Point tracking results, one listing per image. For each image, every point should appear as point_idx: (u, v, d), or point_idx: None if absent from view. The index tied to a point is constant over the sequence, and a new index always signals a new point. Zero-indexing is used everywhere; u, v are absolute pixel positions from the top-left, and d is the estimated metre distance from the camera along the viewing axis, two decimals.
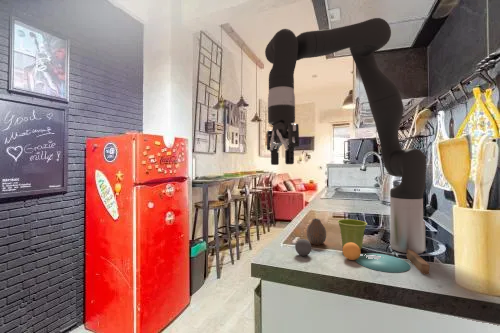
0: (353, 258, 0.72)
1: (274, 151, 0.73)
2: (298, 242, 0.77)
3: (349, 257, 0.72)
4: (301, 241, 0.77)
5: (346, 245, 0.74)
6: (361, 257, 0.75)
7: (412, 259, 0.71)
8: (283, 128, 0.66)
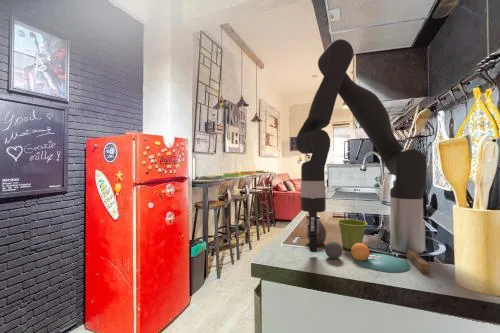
0: (358, 257, 0.72)
1: None
2: (337, 258, 0.74)
3: (355, 254, 0.72)
4: (334, 258, 0.74)
5: (363, 245, 0.72)
6: None
7: (412, 259, 0.71)
8: None
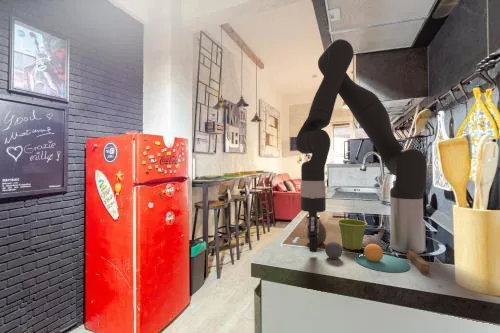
0: (370, 252, 0.71)
1: None
2: (337, 258, 0.74)
3: (373, 249, 0.71)
4: (334, 258, 0.74)
5: (382, 255, 0.71)
6: (361, 257, 0.75)
7: (412, 259, 0.71)
8: None
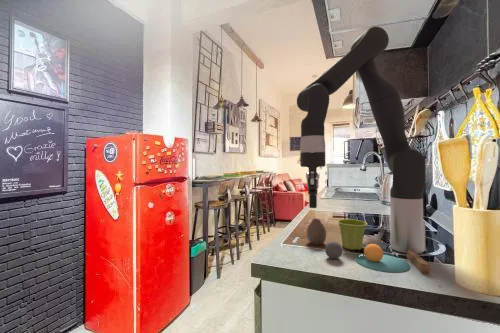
0: (370, 252, 0.71)
1: None
2: (337, 258, 0.74)
3: (373, 249, 0.71)
4: (334, 258, 0.74)
5: (382, 255, 0.71)
6: (361, 257, 0.75)
7: (412, 259, 0.71)
8: None
